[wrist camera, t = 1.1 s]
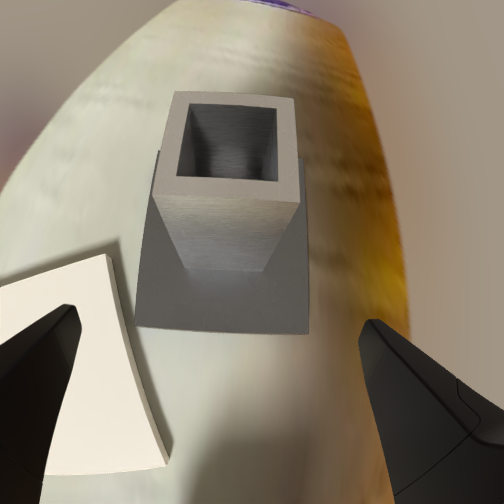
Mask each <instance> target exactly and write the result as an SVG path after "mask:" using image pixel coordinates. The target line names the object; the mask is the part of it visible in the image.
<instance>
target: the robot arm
mask: <svg viewBox="0 0 504 504" xmlns="http://www.w3.org/2000/svg"><path fill="white" fill-rule="evenodd" d="M81 333H82V324H81V321H80V318H79V314H78V311H77V308H76V306H75V305H71V304H62V305H60V306H59V307H57V308H56V309H54V310H53V311H51V312H49V313H48V314H46V315H45V316H43V317H42V318H40V319H39V320H37V321H35V322H34V323H32V324H31V325H29V326H28V327H26V328H25V329H23V330H22V331H20V332H19V333H17V334H16V335H14V336H13V337H11V338H10V339H8V340H7V341H5V342H4V343H2V344H1V345H0V504H39V502H40V496H41V490H42V485H43V483H42V482H43V478H44V473H45V468H46V464H47V459H48V455H49V450H50V446H51V442H52V438H53V434H54V430H55V427H56V423H57V419H58V416H59V412H60V409H61V406H62V402H63V399H64V396H65V392H66V389H67V386H68V383H69V380H70V377H71V374H72V370H73V366H74V362H75V357H76V353H77V349H78V345H79V341H80V337H81ZM358 346H359V351H360V356H361V362H362V368H363V373H364V379H365V384H366V388H367V392H368V395H369V399H370V403H371V406H372V410H373V413H374V417H375V421H376V424H377V428H378V432H379V436H380V440H381V444H382V448H383V452H384V456H385V460H386V464H387V469H388V473H389V477H390V482H391V486H392V491H393V496H394V501H395V504H504V410H503V409H501V408H499V407H498V406H496V405H495V404H493V403H492V402H490V401H489V400H487V399H486V398H484V397H483V396H481V395H480V394H478V393H477V392H475V391H474V390H472V389H471V388H470V387H469V386H467V385H466V384H465V383H463V382H462V381H461V380H459V379H458V378H456V377H455V376H454V375H453V374H452V373H450V372H449V371H448V370H446V369H445V368H444V367H442V366H441V365H440V364H438V363H437V362H436V361H435V360H433V359H432V358H431V357H429V356H428V355H427V354H425V353H424V352H423V351H421V350H420V349H419V348H417V347H416V346H415V345H413V344H412V343H411V342H409V341H408V340H407V339H405V338H404V337H403V336H401V335H400V334H399V333H397V332H396V331H395V330H393V329H392V328H391V327H389V326H388V325H387V324H385V323H384V322H383V321H381V320H380V319H368V320H366V322H365V324H364V326H363V329H362V332H361V334H360V337H359V340H358Z"/></svg>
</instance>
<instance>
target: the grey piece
mask: <svg viewBox="0 0 504 504" xmlns="http://www.w3.org/2000/svg"><path fill="white" fill-rule="evenodd" d="M159 155H160V150H158V154H157V159H156V164H155V169H154V174H153V179H152V185H151V190H150V196H149V202H148V208H147V214H146V220H145V227H144V234H143V241H142V248H141V256H140V265H139V274H138V283H137V294H136V305H135V319H134V326H137V327H144V328H154V329H166V330H179V331H194V332H211V333H232V334H268V335H305V334H309V291H308V245H307V218H306V197H305V179H304V163H303V159H302V158H298V169H299V188H300V204H299V206H298V208H297V209H296V211H295V213H294V215H293V217H292V219H291V220H290V222H289V224H288V226H287V228H286V230H285V231H284V233H283V235H282V237H281V239H280V241H279V242H278V244H277V246H276V248H275V250H274V252H273V253H272V255H271V257H270V259H269V261H268V262H267V264H266V266H265V268H264V270H263V271H262V272H259V271H237V270H217V269H198V268H185V267H184V265H183V263H182V261H181V259H180V257H179V255H178V252H177V250H176V248H175V246H174V244H173V242H172V239H171V237H170V235H169V233H168V230H167V228H166V226H165V224H164V221H163V219H162V217H161V215H160V212H159V210H158V208H157V205H156V203H155V201H154V198H153V196H152V192H153V186H154V181H155V175H156V170H157V165H158V160H159Z"/></svg>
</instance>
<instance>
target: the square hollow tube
mask: <svg viewBox="0 0 504 504" xmlns="http://www.w3.org/2000/svg"><path fill="white" fill-rule="evenodd" d="M152 196H153V198H154V201H155V203H156V205H157V208H158V210H159V212H160V215H161V217H162V219H163V221H164V224H165V226H166V228H167V230H168V233H169V235H170V237H171V239H172V242H173V244H174V246H175V248H176V250H177V252H178V255H179V257H180V259H181V261H182V263H183V265H184V267H185V268H198V269H217V270H237V271H259V272H262V271H263V270H264V268H265V266H266V264H267V262H268V261H269V259H270V257H271V255H272V253H273V252H274V250H275V248H276V246H277V244H278V242H279V241H280V239H281V237H282V235H283V233H284V231H285V230H286V228H287V226H288V224H289V222H290V220H291V219H292V217H293V215H294V213H295V211H296V209H297V208H298V206H299V204H300V188H299V169H298V152H297V136H296V122H295V109H294V98H286V97H278V96H268V95H257V94H244V93H228V92H200V91H175V92H174V95H173V99H172V103H171V107H170V111H169V115H168V119H167V124H166V128H165V132H164V137H163V141H162V146H161V150H160V155H159V160H158V165H157V170H156V175H155V181H154V186H153V192H152Z"/></svg>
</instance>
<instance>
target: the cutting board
mask: <svg viewBox="0 0 504 504" xmlns="http://www.w3.org/2000/svg"><path fill="white" fill-rule="evenodd" d="M62 304H71V305H75V306H76V308H77V311H78V314H79V318H80V321H81V324H82V333H81V337H80V341H79V345H78V349H77V353H76V357H75V362H74V366H73V370H72V374H71V377H70V380H69V383H68V386H67V389H66V392H65V396H64V399H63V402H62V406H61V409H60V412H59V416H58V419H57V423H56V427H55V430H54V434H53V438H52V442H51V446H50V450H49V455H48V459H47V464H46V468H45V473H44V475H87V474H105V473H117V472H127V471H136V470H144V469H151V468H158V467H164V466H167V464H168V461H169V456H168V454H167V452H166V449H165V447H164V444H163V442H162V439H161V437H160V434H159V431H158V429H157V426H156V423H155V421H154V418H153V415H152V412H151V410H150V407H149V404H148V401H147V398H146V395H145V392H144V389H143V386H142V382H141V379H140V376H139V373H138V369H137V366H136V363H135V359H134V356H133V352H132V348H131V345H130V341H129V337H128V333H127V329H126V325H125V321H124V317H123V313H122V308H121V304H120V299H119V295H118V290H117V285H116V280H115V275H114V269H113V264H112V259H111V258H110V257H109V256H108V255H107V254H105V253H104V254H101V255H98V256H95V257H91V258H88V259H85V260H82V261H78V262H75V263H72V264H69V265H66V266H62V267H59V268H56V269H53V270H50V271H47V272H44V273H41V274H38V275H35V276H32V277H29V278H26V279H23V280H20V281H17V282H14V283H11V284H8V285H5V286H2V287H0V345H1V344H2V343H4V342H5V341H7V340H8V339H10V338H11V337H13V336H14V335H16V334H17V333H19V332H20V331H22V330H23V329H25V328H26V327H28V326H29V325H31V324H32V323H34V322H35V321H37V320H39V319H40V318H42V317H43V316H45V315H46V314H48V313H49V312H51V311H53V310H54V309H56V308H57V307H59V306H60V305H62Z"/></svg>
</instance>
